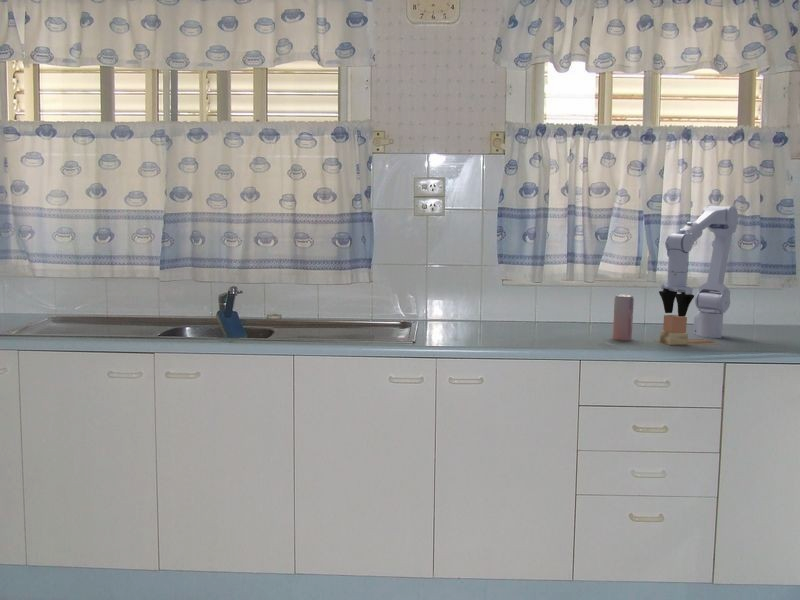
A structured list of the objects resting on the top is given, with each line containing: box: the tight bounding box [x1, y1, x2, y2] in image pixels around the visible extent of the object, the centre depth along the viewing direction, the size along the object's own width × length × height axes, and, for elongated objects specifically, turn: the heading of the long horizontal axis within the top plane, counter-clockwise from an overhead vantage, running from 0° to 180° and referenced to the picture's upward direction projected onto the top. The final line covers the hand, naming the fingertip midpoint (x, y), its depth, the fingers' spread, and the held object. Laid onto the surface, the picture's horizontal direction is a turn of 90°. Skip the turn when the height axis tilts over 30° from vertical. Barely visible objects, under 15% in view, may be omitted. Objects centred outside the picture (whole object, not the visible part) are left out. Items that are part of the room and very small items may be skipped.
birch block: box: [659, 330, 689, 345], centre depth 263 cm, size 6×6×4 cm
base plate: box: [654, 338, 720, 347], centre depth 264 cm, size 10×18×1 cm, turn 104°
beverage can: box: [612, 294, 635, 342], centre depth 268 cm, size 6×6×15 cm
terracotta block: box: [662, 314, 688, 333], centre depth 262 cm, size 5×5×5 cm
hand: (675, 314), depth 262 cm, fingers open, 7 cm apart
